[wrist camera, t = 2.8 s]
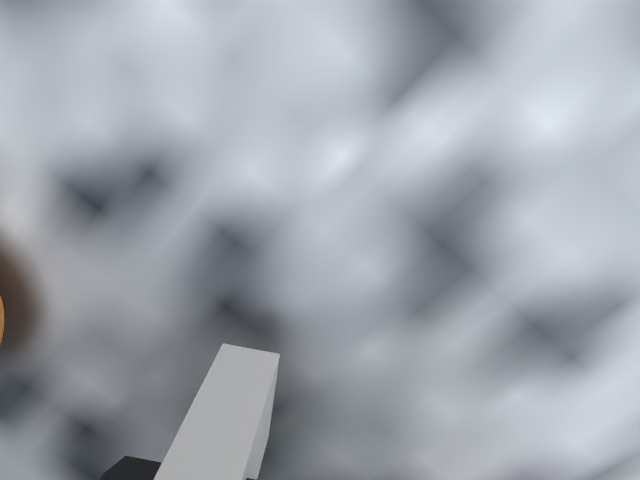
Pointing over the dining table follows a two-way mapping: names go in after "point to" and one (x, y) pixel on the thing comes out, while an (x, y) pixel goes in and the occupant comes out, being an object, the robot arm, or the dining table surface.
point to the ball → (1, 319)
